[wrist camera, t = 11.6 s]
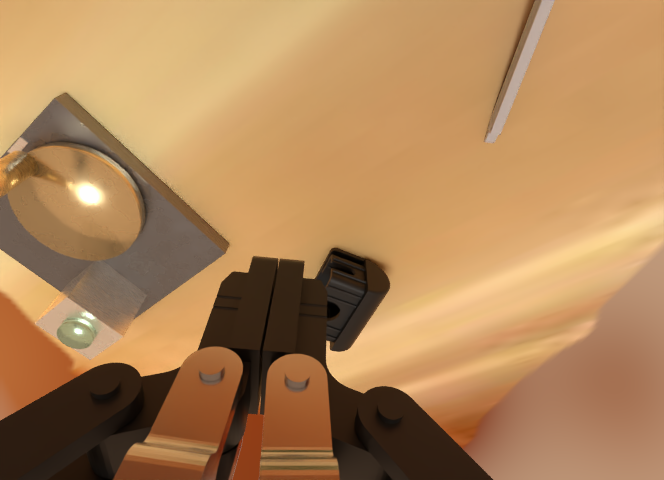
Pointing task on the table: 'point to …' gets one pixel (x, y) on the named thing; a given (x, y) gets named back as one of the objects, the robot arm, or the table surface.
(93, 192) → the brass dish with post
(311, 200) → the table surface
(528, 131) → the table surface
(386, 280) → the end cap
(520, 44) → the caliper
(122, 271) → the base
